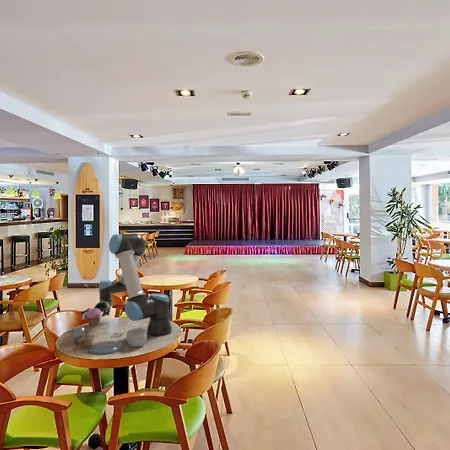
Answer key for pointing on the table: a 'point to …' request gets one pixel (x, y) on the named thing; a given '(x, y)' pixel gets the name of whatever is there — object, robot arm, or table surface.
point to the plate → (105, 347)
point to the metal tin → (78, 334)
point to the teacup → (136, 337)
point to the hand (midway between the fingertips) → (91, 317)
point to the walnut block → (85, 342)
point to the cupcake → (93, 316)
